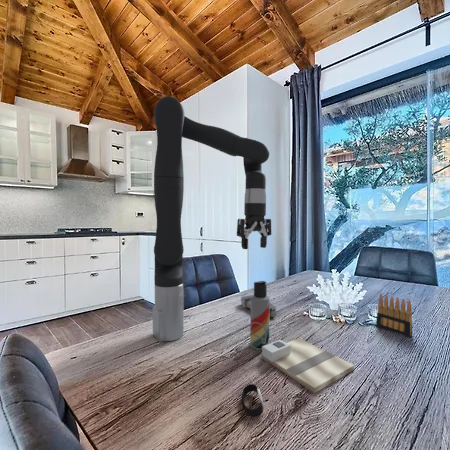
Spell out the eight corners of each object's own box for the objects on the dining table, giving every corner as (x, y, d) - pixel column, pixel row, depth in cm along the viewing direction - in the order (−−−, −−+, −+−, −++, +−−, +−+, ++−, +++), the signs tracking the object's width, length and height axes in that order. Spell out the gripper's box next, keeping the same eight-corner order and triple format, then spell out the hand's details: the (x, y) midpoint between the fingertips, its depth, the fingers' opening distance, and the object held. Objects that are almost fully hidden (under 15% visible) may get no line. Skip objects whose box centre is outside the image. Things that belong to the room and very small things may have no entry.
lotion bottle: (257, 352, 78) (257, 284, 77) (246, 343, 83) (247, 279, 82) (272, 347, 81) (273, 282, 80) (261, 339, 86) (262, 277, 85)
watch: (267, 419, 53) (268, 401, 53) (244, 420, 53) (244, 403, 53) (259, 393, 61) (259, 377, 61) (239, 394, 61) (239, 378, 60)
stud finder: (272, 361, 71) (272, 351, 71) (262, 355, 74) (262, 345, 74) (290, 354, 75) (290, 344, 75) (279, 347, 78) (280, 338, 78)
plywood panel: (314, 393, 61) (314, 387, 61) (260, 357, 75) (260, 352, 75) (354, 369, 70) (354, 364, 70) (299, 341, 84) (299, 337, 84)
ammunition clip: (412, 336, 89) (413, 300, 88) (410, 337, 87) (411, 301, 87) (378, 325, 97) (379, 292, 97) (375, 326, 96) (377, 293, 95)
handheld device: (264, 322, 100) (265, 310, 100) (238, 305, 118) (238, 295, 118) (285, 317, 104) (285, 305, 104) (256, 302, 122) (256, 292, 122)
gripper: (246, 201, 87) (245, 251, 88) (277, 202, 95) (276, 248, 96) (232, 201, 93) (231, 248, 94) (262, 203, 101) (261, 246, 102)
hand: (254, 248), depth 95 cm, fingers open, 8 cm apart
